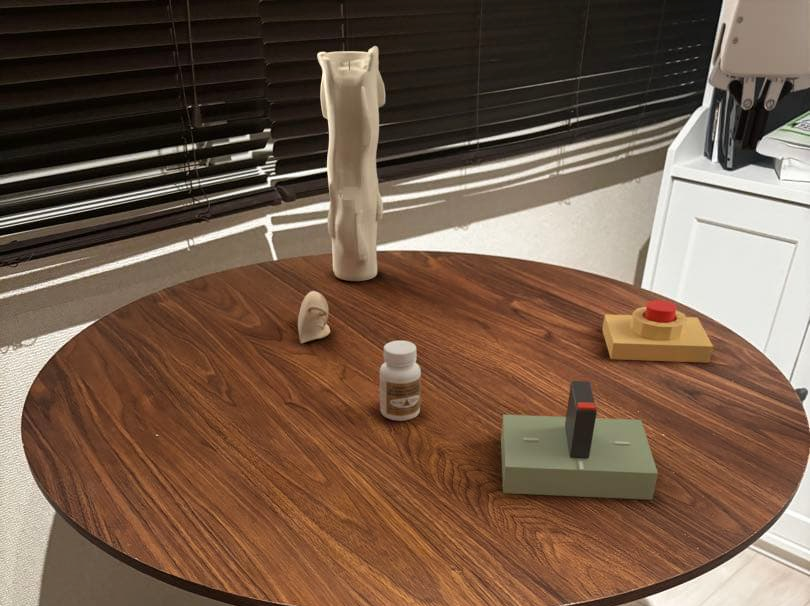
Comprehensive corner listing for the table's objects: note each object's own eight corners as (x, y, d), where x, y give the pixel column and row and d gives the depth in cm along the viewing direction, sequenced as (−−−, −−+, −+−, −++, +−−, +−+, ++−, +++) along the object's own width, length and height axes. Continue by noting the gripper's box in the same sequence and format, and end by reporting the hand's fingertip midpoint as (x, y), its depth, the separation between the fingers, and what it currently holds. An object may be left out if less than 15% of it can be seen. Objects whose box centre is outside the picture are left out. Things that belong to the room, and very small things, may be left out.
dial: (564, 425, 81) (571, 378, 78) (582, 426, 81) (590, 379, 78) (569, 457, 76) (577, 408, 73) (589, 458, 76) (597, 409, 73)
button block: (693, 333, 107) (700, 303, 104) (709, 363, 100) (716, 332, 97) (602, 330, 107) (606, 300, 105) (610, 359, 100) (616, 328, 98)
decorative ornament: (328, 321, 109) (326, 282, 106) (331, 347, 103) (329, 306, 100) (298, 322, 109) (295, 283, 106) (299, 348, 102) (296, 308, 99)
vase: (392, 270, 125) (391, 44, 107) (371, 289, 119) (365, 52, 100) (342, 263, 127) (332, 41, 109) (318, 281, 121) (303, 48, 103)
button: (671, 314, 103) (673, 300, 102) (676, 325, 100) (679, 311, 99) (642, 313, 103) (644, 299, 102) (646, 324, 100) (649, 310, 99)
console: (635, 444, 84) (641, 417, 82) (652, 500, 76) (658, 472, 74) (500, 439, 85) (503, 412, 83) (503, 493, 77) (505, 465, 75)
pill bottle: (389, 425, 87) (389, 358, 82) (374, 407, 90) (372, 342, 86) (426, 417, 89) (428, 351, 84) (410, 399, 92) (410, 335, 87)
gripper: (857, -56, 82) (802, 141, 93) (707, -58, 83) (670, 139, 94) (886, -54, 76) (823, 157, 87) (724, -55, 77) (683, 154, 88)
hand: (744, 147), depth 91 cm, fingers closed
